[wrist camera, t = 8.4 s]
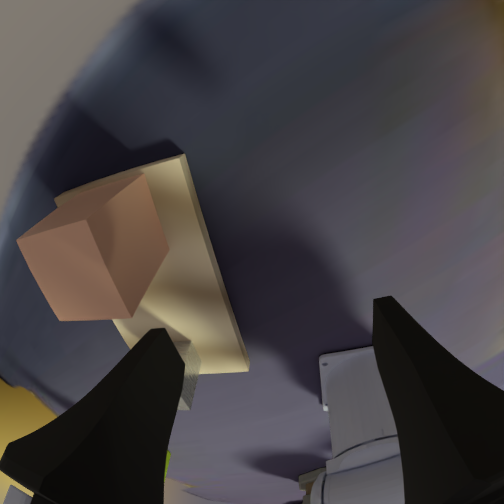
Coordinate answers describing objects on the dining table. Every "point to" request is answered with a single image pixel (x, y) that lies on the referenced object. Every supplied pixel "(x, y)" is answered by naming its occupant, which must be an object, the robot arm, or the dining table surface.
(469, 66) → the dining table surface
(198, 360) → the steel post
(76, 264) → the tan cardboard box
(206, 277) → the birch board
